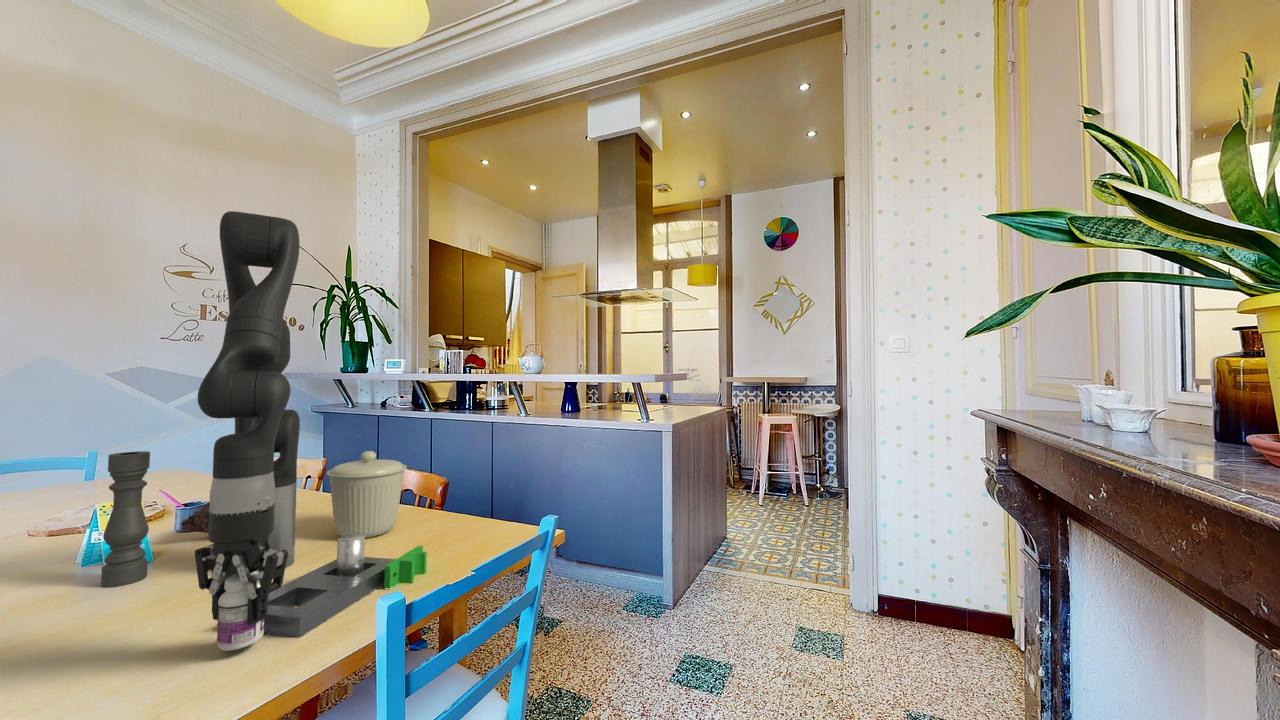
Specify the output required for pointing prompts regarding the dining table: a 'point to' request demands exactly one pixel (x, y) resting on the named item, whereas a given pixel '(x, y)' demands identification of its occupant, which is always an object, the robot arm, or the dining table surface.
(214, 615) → the robot arm
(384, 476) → the canister
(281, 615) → the hole plate
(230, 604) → the pill bottle
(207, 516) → the pine cone
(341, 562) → the clear glass cylinder
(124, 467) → the candle holder
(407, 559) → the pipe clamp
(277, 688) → the dining table surface
